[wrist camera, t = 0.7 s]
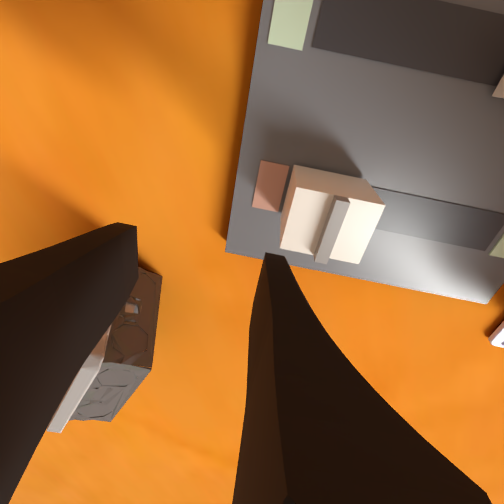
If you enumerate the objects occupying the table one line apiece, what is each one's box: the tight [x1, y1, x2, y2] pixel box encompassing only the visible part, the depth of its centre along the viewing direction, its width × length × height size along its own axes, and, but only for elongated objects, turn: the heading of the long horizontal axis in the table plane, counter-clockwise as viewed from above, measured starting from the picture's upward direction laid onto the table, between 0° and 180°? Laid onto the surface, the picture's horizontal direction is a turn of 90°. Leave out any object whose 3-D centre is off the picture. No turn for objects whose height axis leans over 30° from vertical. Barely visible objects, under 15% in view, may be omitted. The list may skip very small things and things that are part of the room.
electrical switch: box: [47, 267, 162, 433], centre depth 21 cm, size 9×5×9 cm, turn 146°
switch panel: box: [225, 0, 504, 304], centre depth 16 cm, size 18×16×1 cm
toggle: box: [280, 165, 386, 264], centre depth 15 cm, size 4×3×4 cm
